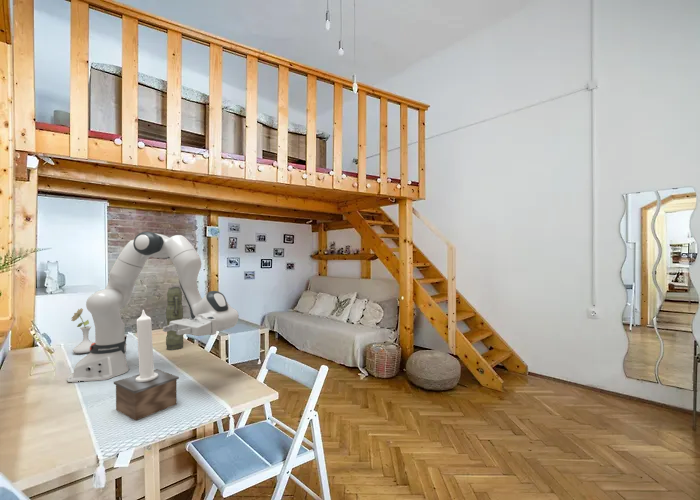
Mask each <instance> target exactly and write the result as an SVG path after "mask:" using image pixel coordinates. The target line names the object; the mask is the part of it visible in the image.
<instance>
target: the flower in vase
mask: <svg viewBox="0 0 700 500" xmlns="http://www.w3.org/2000/svg"><path fill="white" fill-rule="evenodd" d="M83 311H84V309H83V308H78V309H77V311H76V312H74V313H73V315H72V317H71V318H70V320H71V321H72V322H75V321H77V319H79V318H80V320H81V322H80V323H78V324H77V326H76V327H77V328H79V327H80V328H79V329H80V330H81V332H82V335H83V336H82V337H83V338H82V341H81V342H80V343H79V344H78V345H76V346H75V347H74V348H73V349H72V352H73V353H74V354H89V353H91V352H90V346H91V344H92V343H94V342H92V341H91V340H90V339H89V332H90V329H91V328H92V326H91V325H90V326H88V325H89V324H90V321H89V319H87V320H85V321H84V320H83V318H82V316H81V315H82V314H83ZM82 325H83V326H82Z"/></svg>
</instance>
